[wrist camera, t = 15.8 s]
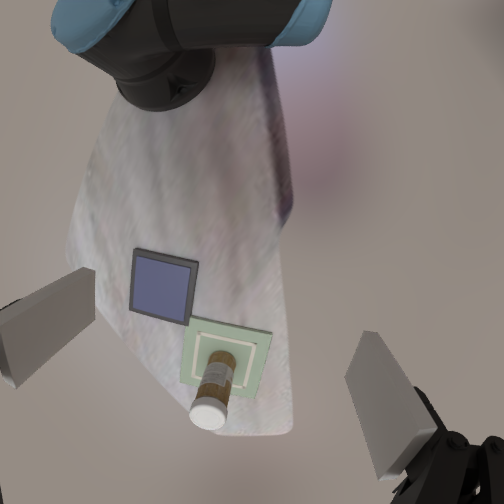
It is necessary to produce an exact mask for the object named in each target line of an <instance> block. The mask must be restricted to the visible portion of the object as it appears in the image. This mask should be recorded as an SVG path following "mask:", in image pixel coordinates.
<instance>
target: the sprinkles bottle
mask: <svg viewBox="0 0 504 504" xmlns="http://www.w3.org/2000/svg"><path fill="white" fill-rule="evenodd" d="M235 368H236V361H235V359H234V357H233V356H232V355H230V354H229V353H227V352H223V351H217V352H214V353H213V354H211V355H210V356H209V358H208V364H207V367H206V368H205V371H204V374H203V377H202V380H201V382H200V385H199V388H198V393H197V396H196V398H195V400H194V402H193V403H192V406H191V409H190V412H189V416H190V419H191V421H192V422H193V423H194V424H195V425H197V426H198V427H200V428H203V429H207V430H216V429H219V428H221V427H222V426H224V424H225V422H226V419H227V413H228V411H227V405H228V401H229V396H230V392H231V387H232V382H233V377H234V370H235Z"/></svg>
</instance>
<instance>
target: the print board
mask: <svg viewBox="0 0 504 504" xmlns="http://www.w3.org/2000/svg"><path fill="white" fill-rule="evenodd" d="M271 338H272V332H266V331H261V330H256V329H251V328H246V327H241V326H236V325H232V324H227V323H223V322H218V321H214V320H209V319H205V318H201V317H196V316H192V315H191V316H190V321H189V327H188V326H186V327H185V335H184V344H183V353H182V363H181V373H180V383H184V384H188V385H192V386H196V387H199V385H200V382H201V380H202V377H203V374H204V371H205V368H206V367H207V364H208V358H209V356H210V355H211V354H213V353H214V352H217V351H223V352H227V353H229V354H230V355H232V356H233V357H234V359H235V361H236V368H235V370H234V377H233V382H232V387H231V392H230V394H231V395H236V396H241V397H246V398H252V399H255V396H256V393H257V389H258V386H259V382H260V379H261V375H262V371H263V368H264V364H265V361H266V357H267V353H268V349H269V346H270V342H271Z"/></svg>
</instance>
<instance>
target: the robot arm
mask: <svg viewBox="0 0 504 504" xmlns="http://www.w3.org/2000/svg"><path fill="white" fill-rule="evenodd" d="M331 4H332V0H58V2H57V3H56V6H55V8H54V10H53V14H52V17H51V31H52V34H53V36H54V38H55V39H56V40H57V41H58V42H60V43H61V44H63V45H64V46H65V47H66V48H67V49H68V51H69V52H71V53H74V54H76V55H78V56H80V57H81V58H83V59H85V60H87V61H88V62H90V63H92V64H93V65H95V66H96V67H98V68H100V69H101V70H103V71H105V72H106V73H108V74H109V75H111V76H113V78H114V79H115V80H116V84H117V87H118V90H119V92H120V93H121V95H122V96H123V97H124V98H125V99H126V100H127V101H128V102H130V103H131V104H133V105H134V106H136V107H138V108H140V109H143V110H146V111H153V112H159V111H167V110H171V109H174V108H177V107H179V106H181V105H183V104H185V103H187V102H188V101H190V100H191V99H193V98H194V97H195V96H196V95H197V94H199V93H200V92H201V90H202V89H203V88H204V87H205V86H206V84H207V83H208V81H209V79H210V77H211V75H212V73H213V70H214V66H215V53H214V49H213V48H224V47H254V46H264V47H265V48H272V47H274V46H303V45H307V44H309V43H310V42H312V41H313V40H314V39H315V38H316V37H317V36H318V35H319V34H320V32H321V31H322V29H323V27H324V25H325V22H326V20H327V17H328V14H329V11H330V8H331ZM94 320H95V270H92V269H88V268H85V267H82V268H80V269H78V270H76V271H74V272H72V273H71V274H68V275H67V276H64V277H62V278H61V279H59V280H57V281H55V282H53V283H51V284H49V285H47V286H45V287H43V288H41V289H40V290H38V291H36V292H34V293H32V294H30V295H28V296H26V297H25V298H22V299H19V300H16V301H14V302H12V303H10V304H9V306H8V305H7V306H5V307H3V308H2V309H0V370H1V373H2V377H3V380H4V381H5V382H6V383H8V384H9V385H11V386H12V387H14V388H15V389H17V388H18V387H19V386H20V385H21V384H23V383H24V382H25V381H26V380H27V379H28V378H29V377H30V376H31V375H32V374H33V373H34V372H36V371H37V370H38V369H39V368H40V367H41V366H42V365H43V364H45V363H46V362H47V361H48V360H49V359H50V358H51V357H52V356H54V355H55V354H56V353H57V352H58V351H59V350H60V349H62V348H63V347H64V346H65V345H66V344H67V343H68V342H70V341H71V340H72V339H73V338H74V337H75V336H77V335H78V334H79V333H80V332H81V331H82V330H83V329H85V328H86V327H87V326H88V325H89V324H91V323H92V322H93V321H94ZM345 379H346V383H347V385H348V388H349V391H350V394H351V397H352V400H353V403H354V406H355V409H356V412H357V415H358V418H359V421H360V424H361V427H362V430H363V433H364V436H365V439H366V442H367V446H368V449H369V452H370V455H371V458H372V462H373V465H374V468H375V471H376V475H377V478H378V480H379V481H380V480H389V479H396V478H397V477H398V476H399V475H400V474H401V473H402V472H403V470H404V469H405V470H406V473H407V475H408V476H407V477H406V478H405V479H404V480H403V482H402V483H401V484H400V485H399V486H398V487H397V488H396V489H395V490H394V491H393V492H392V493H395V492H396V491H397V490H398V491H397V493H396V495H395V496H394V498H393V500H392V502H391V503H390V504H504V440H503V439H502V438H500V437H497V436H489V437H488V438H486V440H485V441H484V442H483V444H482V445H481V446H479V445H470V444H469V442H468V440H467V439H466V438H465V437H464V436H463V435H462V434H460V433H458V432H454V431H448V430H447V429H446V427H445V425H444V424H443V422H442V421H441V419H440V417H439V416H438V414H437V413H436V411H435V410H434V408H433V406H432V404H430V401H429V400H428V398H427V397H426V395H425V394H424V393H423V392H422V391H421V390H420V389H419V388H417V387H413V386H412V384H411V383H410V381H409V380H408V378H407V377H406V375H405V373H404V372H403V370H402V369H401V367H400V365H399V364H398V362H397V361H396V360H395V358H394V357H393V355H392V354H391V352H390V350H389V349H388V347H387V346H386V344H385V343H384V341H383V340H382V338H381V337H380V335H379V334H378V333H377V332H370V331H364V332H363V334H362V337H361V339H360V342H359V345H358V347H357V349H356V352H355V354H354V356H353V359H352V361H351V363H350V366H349V368H348V370H347V373H346V375H345ZM479 486H480V492H479V493H478V494H477V495H476V489H477V488H478V487H479ZM0 504H3V499H2V493H1V488H0Z"/></svg>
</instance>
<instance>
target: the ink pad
mask: <svg viewBox="0 0 504 504" xmlns="http://www.w3.org/2000/svg"><path fill="white" fill-rule="evenodd" d="M198 265H199V262H197V261H192V260H187V259H183V258H178V257H174V256H169V255H165V254H161V253H156V252H152V251H147V250H143V249H139V248H135V249H133V259H132V270H131V284H130V302H129V310H130V311H133V312H137V313H140V314H143V315H147V316H150V317H154V318H158V319H161V320H165V321H169V322H173V323H176V324H180V325H184V326H188V327H189V321H190V316H191V313H192V306H193V299H194V292H195V285H196V278H197V271H198Z"/></svg>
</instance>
